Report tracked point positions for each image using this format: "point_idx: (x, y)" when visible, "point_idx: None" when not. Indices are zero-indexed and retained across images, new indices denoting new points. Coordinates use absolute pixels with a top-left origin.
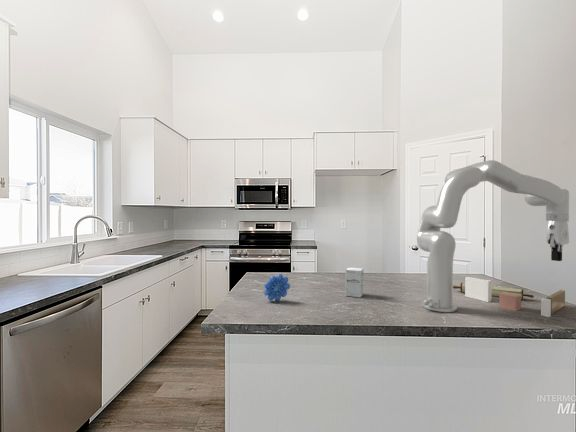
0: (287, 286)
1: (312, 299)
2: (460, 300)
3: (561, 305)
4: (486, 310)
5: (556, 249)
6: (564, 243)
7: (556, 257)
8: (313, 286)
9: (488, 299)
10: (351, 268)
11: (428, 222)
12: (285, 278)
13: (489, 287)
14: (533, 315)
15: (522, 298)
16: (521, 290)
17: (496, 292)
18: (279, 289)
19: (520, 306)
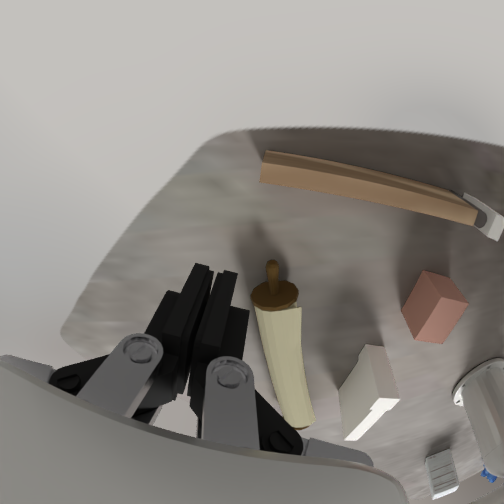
0: None
1: (473, 454)
2: (401, 385)
3: (326, 161)
4: (472, 325)
5: (273, 408)
6: (183, 451)
7: (247, 323)
8: (404, 486)
9: (384, 352)
10: (444, 494)
11: None
12: (493, 476)
13: (388, 381)
14: (475, 233)
15: (295, 286)
16: (287, 309)
17: (302, 357)
18: None
19: (429, 275)
